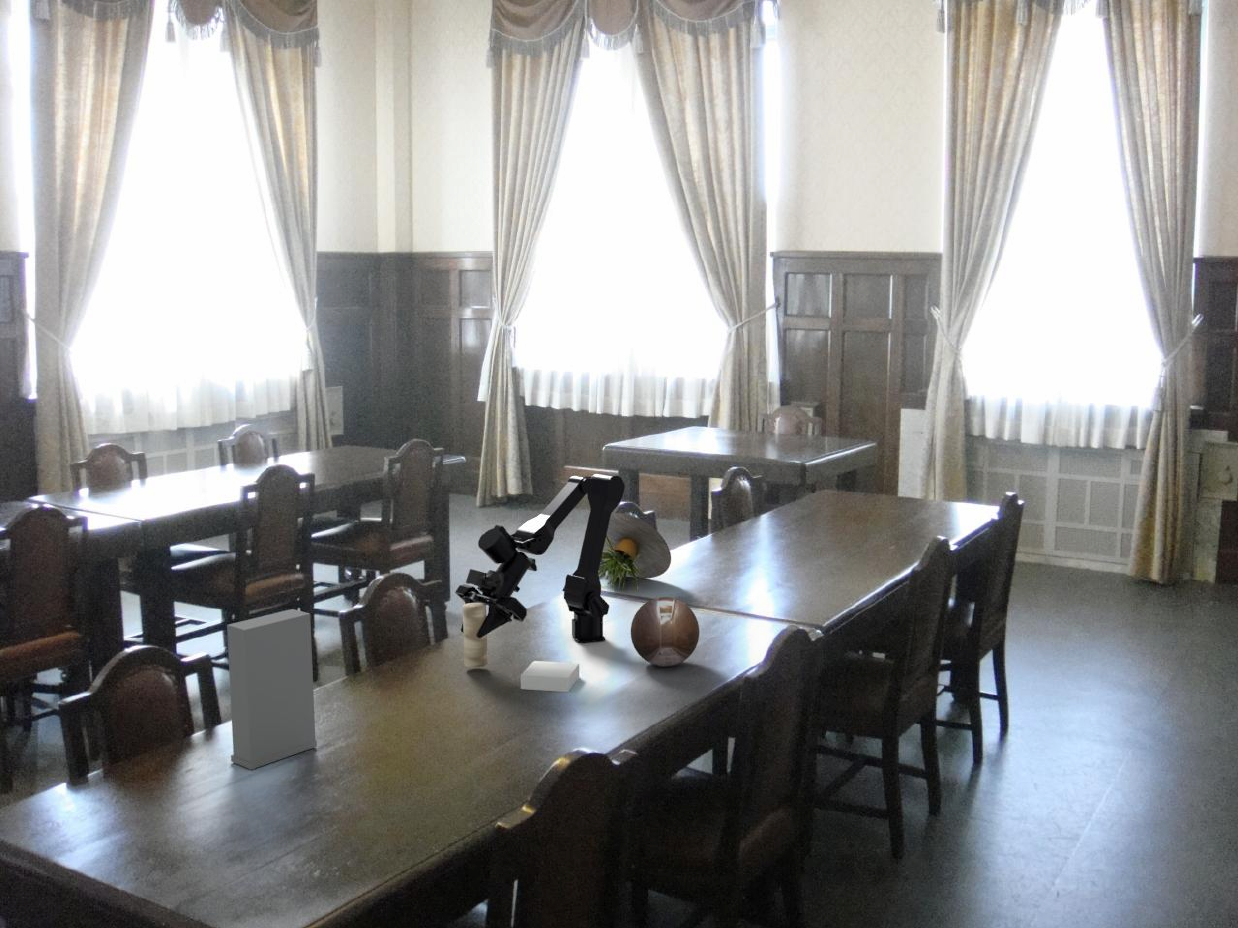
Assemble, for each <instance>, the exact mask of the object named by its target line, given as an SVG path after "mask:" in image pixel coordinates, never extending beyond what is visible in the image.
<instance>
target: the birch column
mask: <svg viewBox="0 0 1238 928" xmlns="http://www.w3.org/2000/svg"><path fill="white" fill-rule="evenodd" d="M486 616H487V605H486V604H484V603H468V604H463V605H462V624H463V632H464V633H463V657H464V658H463V660H464V661H463V663H464V666H465V667H468V668H473V669H474V668H482V667H486V666H487V665H488V664H489V663H488V660H489V659H488V634H487V635H485V636H483V637H482V638H478V637H477V636H476V635H477V633H478V631H479V629H480V627H481V625H482V623H483V622H484V620H485V618H486Z"/></svg>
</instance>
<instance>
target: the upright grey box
mask: <svg viewBox="0 0 1238 928" xmlns="http://www.w3.org/2000/svg"><path fill="white" fill-rule="evenodd" d="M226 632H227V633H226V634H227V650H228V651H227V652H228V669H229V671H228V672H229V691H230V709H231V730H232V750H233V751H232V752H233V754H231V755H230V760H231V762H232V763H233V764H236V765H239V766H241V767H244V768H247V769H249V771H254V770H255V769H256V768H259V767H262V766H265V765H268V764H270V763H273V762H274V763H275V762H276V761H279V760H282V759H285V758H288V757H290V756H293V755H296V754H299V753H302V752H304V751H308V750H313V749H314V748H316V747H317V745H318V744H317V743H318V742H317V740H316V721H315V720H316V719H315V700H314V699H315V698H314V695H315V694H314V676H313V674H314V673H313V672H314V671H313V651H312V628H311V613H309V612H305V611H302V610H297V609H294V608H292V609H291V608H290V609H287V610H282V611H278V612H274V613H271V614H270V613H269V614H265V615H263V616H258V617H255V618H250V619H246V620H242V621H238V622H233V623H229V624H226Z"/></svg>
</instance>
